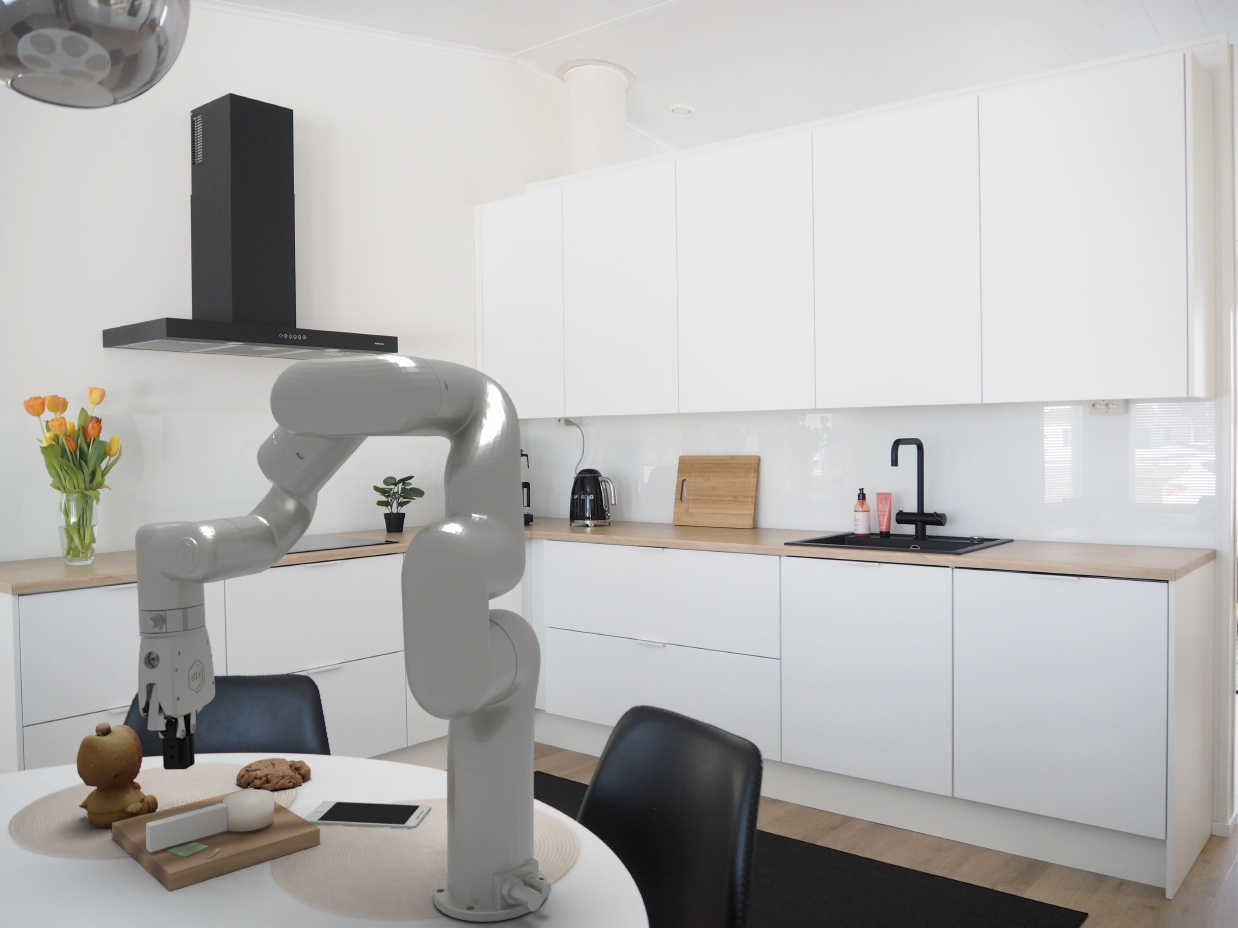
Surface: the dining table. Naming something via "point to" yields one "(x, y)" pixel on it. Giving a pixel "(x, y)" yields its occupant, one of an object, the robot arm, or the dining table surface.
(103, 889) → the dining table surface
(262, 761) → the cookie
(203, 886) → the dining table surface
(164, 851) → the tuner board
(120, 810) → the figurine
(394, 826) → the smartphone
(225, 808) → the peg dial
